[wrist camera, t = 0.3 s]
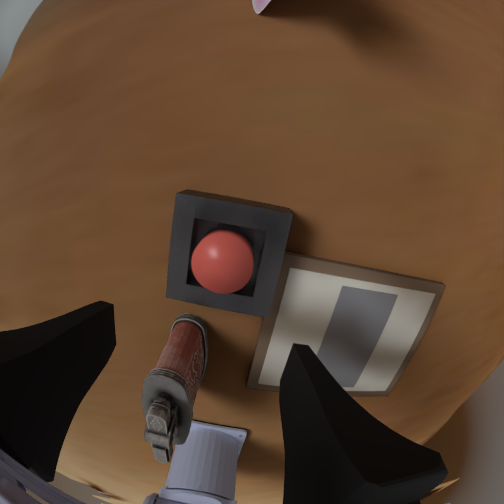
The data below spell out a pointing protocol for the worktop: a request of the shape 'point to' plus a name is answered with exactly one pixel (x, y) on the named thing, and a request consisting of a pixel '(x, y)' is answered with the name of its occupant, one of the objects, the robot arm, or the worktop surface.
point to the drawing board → (344, 323)
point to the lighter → (175, 386)
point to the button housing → (243, 221)
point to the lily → (259, 5)
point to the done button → (223, 261)
